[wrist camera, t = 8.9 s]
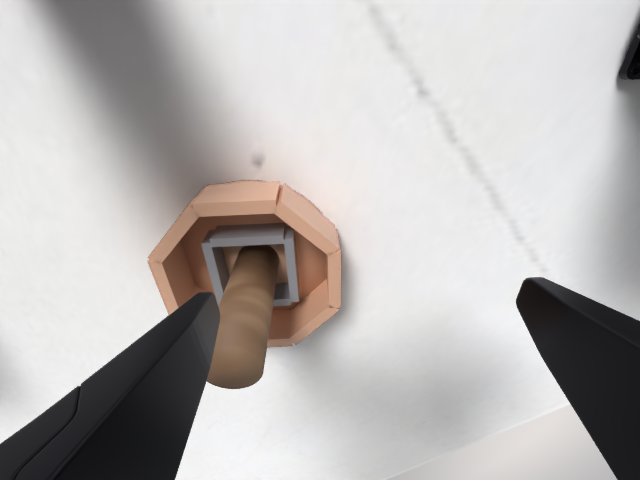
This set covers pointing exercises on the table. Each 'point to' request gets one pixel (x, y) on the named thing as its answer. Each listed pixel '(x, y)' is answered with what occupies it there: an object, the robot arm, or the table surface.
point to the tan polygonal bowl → (254, 229)
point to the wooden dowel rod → (245, 319)
